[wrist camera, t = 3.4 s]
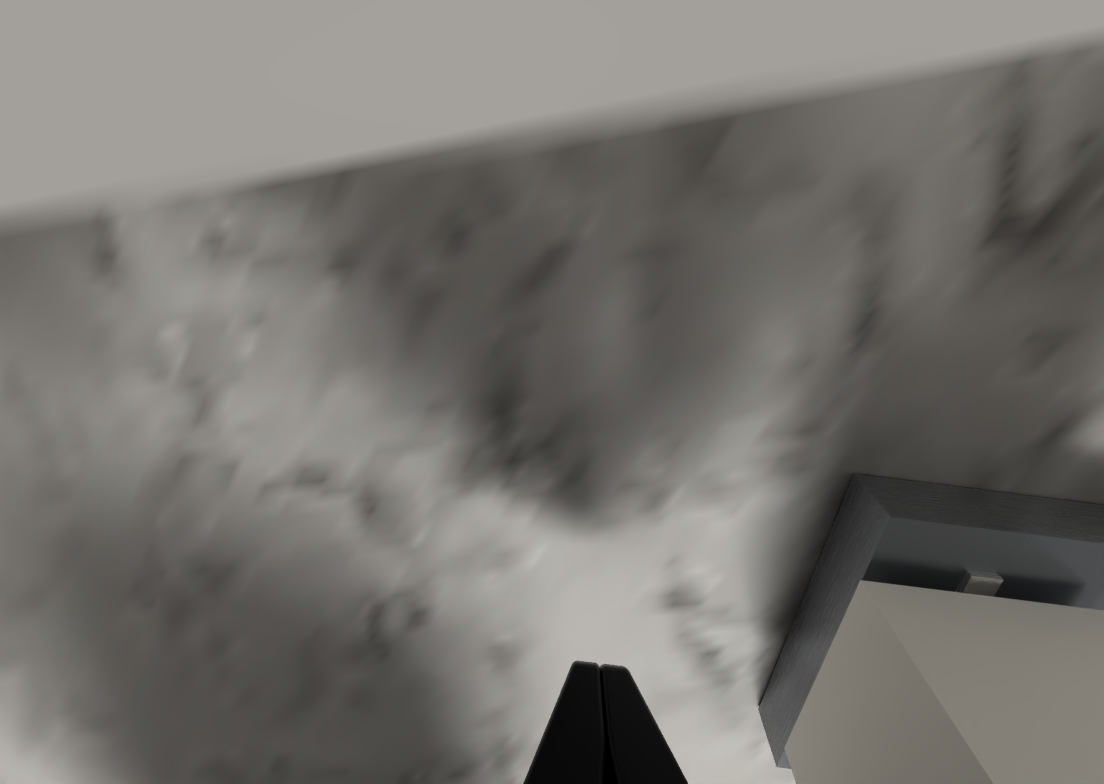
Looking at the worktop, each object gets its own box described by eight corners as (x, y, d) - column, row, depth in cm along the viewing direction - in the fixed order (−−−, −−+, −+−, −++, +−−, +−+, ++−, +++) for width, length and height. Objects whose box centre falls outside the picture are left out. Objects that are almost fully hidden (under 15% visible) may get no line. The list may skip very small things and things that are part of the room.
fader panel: (758, 709, 12) (778, 773, 11) (854, 473, 9) (894, 521, 8) (1125, 754, 12) (1187, 823, 11) (1316, 531, 9) (1426, 588, 8)
